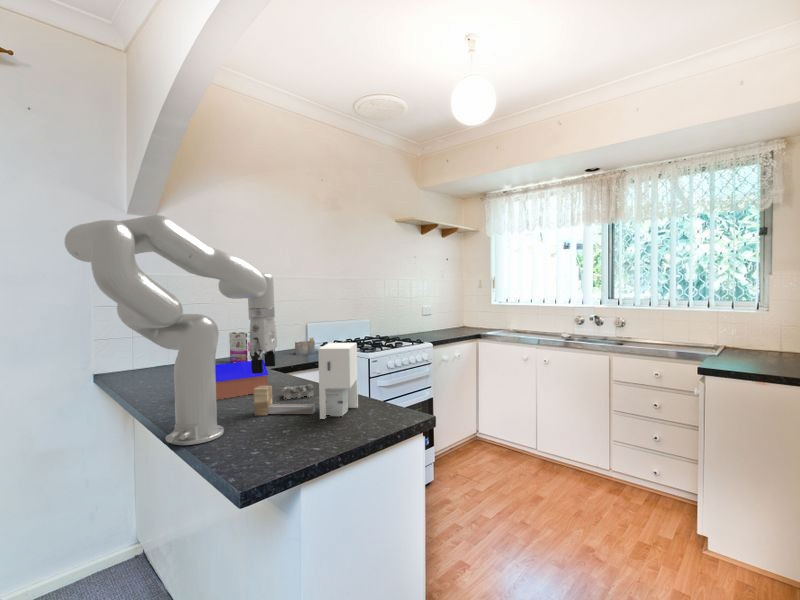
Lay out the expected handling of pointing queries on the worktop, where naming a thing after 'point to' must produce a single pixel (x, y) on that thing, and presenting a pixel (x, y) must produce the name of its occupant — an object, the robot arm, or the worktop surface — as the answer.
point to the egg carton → (298, 391)
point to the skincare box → (336, 401)
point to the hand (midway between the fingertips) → (264, 369)
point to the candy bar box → (239, 346)
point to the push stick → (266, 407)
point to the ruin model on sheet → (305, 347)
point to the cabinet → (338, 372)
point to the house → (238, 379)
